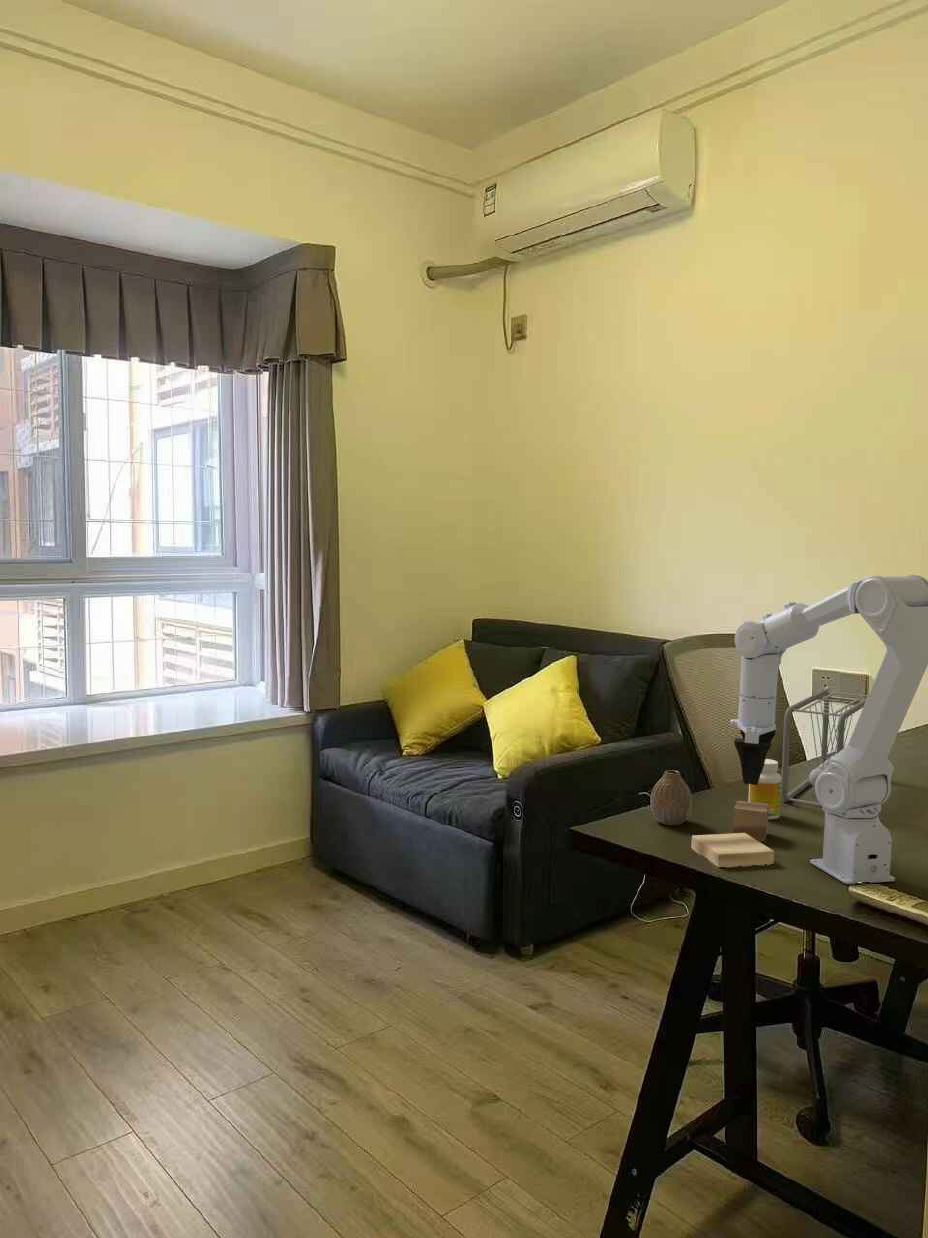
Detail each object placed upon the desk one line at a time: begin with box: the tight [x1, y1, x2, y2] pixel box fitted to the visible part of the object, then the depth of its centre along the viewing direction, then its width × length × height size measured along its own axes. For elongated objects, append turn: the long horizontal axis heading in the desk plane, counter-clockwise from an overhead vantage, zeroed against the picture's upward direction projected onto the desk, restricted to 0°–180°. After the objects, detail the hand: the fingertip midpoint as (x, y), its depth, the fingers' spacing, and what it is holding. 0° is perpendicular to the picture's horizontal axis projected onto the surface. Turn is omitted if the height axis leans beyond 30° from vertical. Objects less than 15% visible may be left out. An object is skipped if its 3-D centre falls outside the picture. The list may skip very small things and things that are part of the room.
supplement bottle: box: [747, 758, 782, 820], centre depth 172 cm, size 5×5×10 cm
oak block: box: [691, 832, 775, 868], centre depth 150 cm, size 9×9×2 cm
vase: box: [649, 769, 693, 826], centre depth 167 cm, size 7×7×9 cm
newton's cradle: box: [781, 688, 869, 807], centre depth 189 cm, size 30×10×18 cm, turn 146°
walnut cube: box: [732, 800, 769, 842], centre depth 160 cm, size 5×5×5 cm
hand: (752, 778), depth 160 cm, fingers open, 7 cm apart
